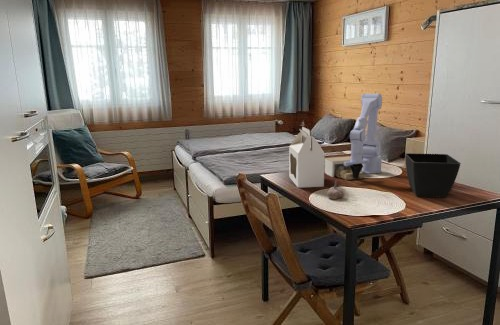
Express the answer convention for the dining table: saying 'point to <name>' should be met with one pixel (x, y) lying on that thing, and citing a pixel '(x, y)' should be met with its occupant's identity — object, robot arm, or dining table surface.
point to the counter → (335, 164)
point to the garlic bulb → (335, 192)
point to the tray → (346, 173)
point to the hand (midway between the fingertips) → (355, 178)
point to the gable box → (306, 161)
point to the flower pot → (431, 174)
